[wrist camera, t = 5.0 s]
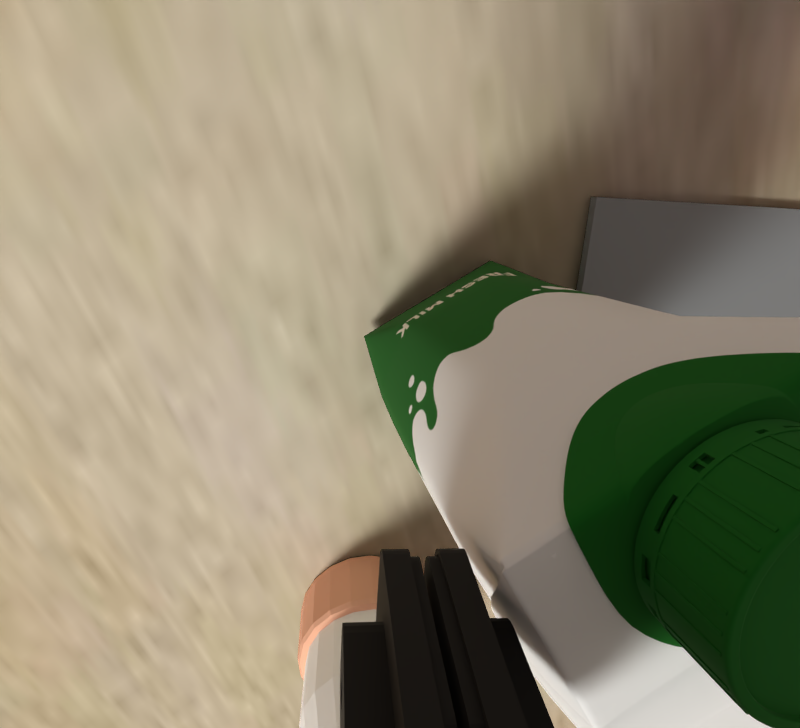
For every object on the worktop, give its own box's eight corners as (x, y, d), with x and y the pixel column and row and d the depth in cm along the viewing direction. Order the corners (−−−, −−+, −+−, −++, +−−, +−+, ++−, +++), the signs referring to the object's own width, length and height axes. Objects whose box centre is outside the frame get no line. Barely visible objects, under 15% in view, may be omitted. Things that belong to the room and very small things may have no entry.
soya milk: (498, 232, 26) (1117, 283, 7) (571, 389, 28) (1145, 733, 10) (335, 329, 25) (500, 678, 6) (427, 478, 28) (726, 1021, 9)
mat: (590, 196, 25) (597, 197, 25) (966, 219, 28) (979, 219, 27) (543, 499, 30) (547, 505, 30) (866, 496, 33) (875, 501, 32)
